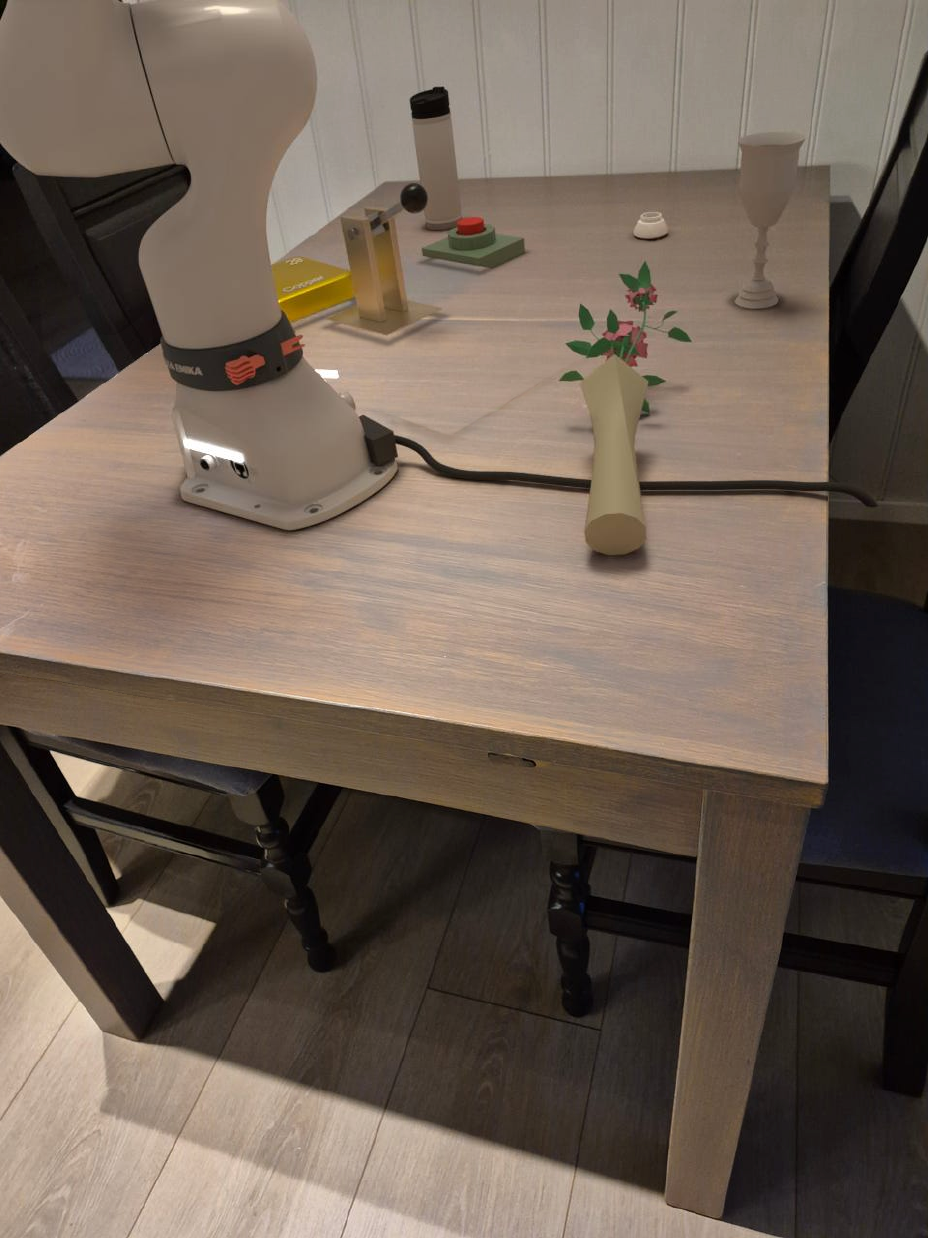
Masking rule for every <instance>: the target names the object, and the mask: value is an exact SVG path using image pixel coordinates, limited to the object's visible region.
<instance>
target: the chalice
mask: <svg viewBox="0 0 928 1238" xmlns="http://www.w3.org/2000/svg"><path fill="white" fill-rule="evenodd" d="M806 139H807V136H806V135H804V134H803V133H800V132H793V131H765V132H757V133H751V134H747V135H744V136H742V137H739V138H738V139H737V143H738V146H739V149H740V151H741V159H740V171H739V172H740V173H739V185H738V189H739V193H740V196H741V197H740V198H741V200H742V205H743V207H744V210H745V212H746V215H747V218H748V220H749V223H750V225H751V226H753V227H755V228H757V231H758V236H757V239H756V242H755V243H754V247H755V249H756V254H755V257H754V258H753V259H752V260H751V262H752V263H753V264H754V269H755V271H754V274H753V276H751V279H748V280H746V281H745V283H743V285H742V286H741V289H740V290H739V292H738V295H737V297H736V298H735V300H734V303H735V305H737V306H739V307H740V308H743V309H744V308H745V309H754V310H756V309H757V310H758V309H759V310H761V309H766V308H771V307H773V306H775V305H777V304H778V303H779V299H778V297H777V291H776V290H775V288H774V287H775V286H774V283H773V282H772V281H771V280H770V279H768V278H767V277H766V276H765V274H764V269H765V266H766V264H767V263H768V261H769V260H768V258H767V257H766V251H767V248H768V247H769V246H770V243H769V242H768V236H767V234H768V230H769V228H771V227H773V226H775V225H776V224H778V221H779V220H780V218H781V216H782V214H783V213H784V211H785V209H786V207H787V206H788V204H789V202H790V200H791V197H792V195H793V193H794V191H795V188H796V186H797V185H796V184H797V176H798V167H799V159H800V158H799V157H800V150H801V147H802V146H803V144H804V143H805V140H806Z"/></svg>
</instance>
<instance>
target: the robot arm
mask: <svg viewBox="0 0 928 1238" xmlns="http://www.w3.org/2000/svg"><path fill="white" fill-rule="evenodd" d="M317 72H318V70H317V62H316V58H315V54H314V51H313V47H312V45H311V42H310V39H309V37H308V35H307V33H306V31H305V29H304V27H303V26H302V24H301V23H300V21H299V20H298V19H297V16H296V15H294V13H293V11H291V10H290V9H289V8H288V7H287V6H286V5H285V3H283V2H282V1H281V0H148V1H142V2H141V1H140V2H135V3H130V2H123V1H120V0H7V2H6V6H5V8H4V10H3V13H2V15H1V18H0V145H1V146H2V147H3V148H4V149H5V151H6V152H7V153H8V154H9V155H10V156H11V157H12V158H13V159H14V160H16V162H17V163H18V164H20V166H21V165H22V166H23V167H24V168H25V169H27V170H28V171H30V172H31V173H33V174H34V175H36V176H45V177H46V176H47V177H62V178H63V177H64V178H101V177H107V176H113V175H117V174H124V173H129V172H135V171H142V170H146V169H147V170H148V169H152V168H157V167H163V166H169V165H183V166H185V167H186V168H187V169H188V171H189V175H190V184H189V187H188V190H187V191H186V193H185V194H184V195H183V196H182V198H181V199H179V201H177V202H176V203H174V205H173V206H172V207H170V208H168V210H166V211H165V212H164V213H163V214H162V215H160V217H158V218H157V219H156V220H155V221H154V222H153V223H152V224H151V225H150V226H149V228H148V229H147V230H146V232H145V233H144V235H143V237H142V238H141V241H140V245H139V248H138V266H139V269H140V272H141V275H142V279H143V281H144V284H145V288H146V290H147V292H148V296H149V299H150V301H151V305H152V307H153V311H154V313H155V316H156V320H157V323H158V326H159V328H160V331H161V332H160V333H161V337H160V340H159V341H160V346H161V350H162V357H163V360H164V364H165V365H166V366H167V369H168V371H169V375H170V377H171V379H172V380H173V381H174V382H175V383H176V388H175V389H176V390H175V391H176V394H175V399H174V404H173V407H172V412H171V419H172V420H171V421H172V423H173V427H174V431H175V435H176V440H177V442H178V446H179V451H180V455H181V458H182V462H183V465H184V468H185V472H186V476H187V477H186V478H185V480H184V481H183V482H182V484H181V486H180V488H179V490H180V495H181V499H182V500H183V501H184V502H187V503H190V504H194V505H197V506H200V507H204V508H209V509H212V510H214V511H218V512H222V513H225V514H228V515H233V516H235V517H239V518H243V519H246V520H250V521H252V522H253V521H254V522H256V523H259V524H263V525H267V526H269V527H270V526H271V527H274V528H278V529H281V530H286V531H296V530H300V529H304V528H308V527H311V526H314V525H317V524H319V523H323V522H325V521H327V520H330V519H332V518H335V517H337V516H339V515H341V514H343V513H344V512H346V511H348V510H350V509H352V508H354V507H355V506H357V505H359V504H360V503H362V502H364V501H365V500H367V499H368V498H370V497H372V496H373V495H374V494H375V493H377V492H378V491H380V490H381V489H382V488H383V487H385V486H386V485H387V484H388V483H389V482H390V481H391V480H392V478H393V477H394V476H395V474H396V473H397V471H398V469H399V465H398V463H397V458H398V457H399V454H398V449H397V445H399V446H402V447H405V448H407V449H410V450H411V451H414V452H415V453H417V454H418V456H420V457H421V458H422V459H423V461H424V462H425V463H426V464H427V465H428V466H429V467H430V468H431V469H432V470H434V471H436V472H438V473H441V474H443V475H446V476H450V477H454V478H457V479H463V480H475V481H476V480H477V481H513V482H524V483H533V484H540V485H541V484H542V485H550V486H558V487H559V486H561V487H569V488H581V489H590V488H591V481H592V479H587V478H577V477H576V478H575V477H563V476H554V475H545V474H536V473H528V472H517V471H500V470H499V471H494V470H493V471H489V470H488V471H487V470H486V471H484V470H481V471H480V470H479V471H478V470H466V469H459V468H456V467H452V466H448V465H446V464H442V463H441V462H439V461H438V460H437V459H435V457H433V455H431V453H430V452H429V451H428V450H427V449H426V448H425V447H424V446H423V445H422V444H420V443H419V442H416V441H414V440H413V439H410V438H407V437H404V436H401V435H397V434H395V433H394V432H395V431H394V430H392V429H390V428H388V427H387V426H385V425H383V424H381V423H379V422H377V421H376V420H374V419H373V418H371V417H369V416H367V415H365V414H361V415H358V413H357V411H356V409H357V408H356V403H355V400H354V398H353V396H352V395H351V393H350V392H349V391H347V390H346V391H345V390H344V391H341V392H339V393H338V392H337V391H336V390H335V388H333V386H332V385H331V384H329V382H328V381H327V380H326V379H338V378H339V374H338V373H339V372H338V370H333V369H332V370H329V369H315V368H314V367H313V366H312V365H311V364H310V363H309V362H308V360H307V359H305V357H304V349H303V348H304V347H306V344H305V343H302V344H301V342H300V341H301V340H302V339H303V338H304V335H302V334H299V335H297V332H296V330H295V328H294V326H293V324H291V323H290V322H289V320H288V318H287V316H286V314H285V312H284V311H282V310H281V309H280V305H279V300H278V296H277V292H276V287H275V283H274V278H273V273H272V267H271V265H272V263H271V257H270V250H269V243H268V234H267V233H268V232H267V211H268V203H269V197H270V192H271V188H272V186H273V182H274V178H275V175H276V173H277V170H278V168H279V167H280V164H281V162H282V160H283V158H284V156H285V154H286V153H287V151H288V149H290V146H292V143H293V142H294V141H295V140H296V139H297V138H298V136H299V135H300V134H301V133H302V131H303V130H304V128H305V127H306V125H307V124H308V121H309V120H310V118H311V116H312V113H313V111H314V106H315V103H316V99H317V91H318V73H317ZM639 485H640V491H740V490H743V491H744V490H775V491H776V490H778V491H794V492H835V493H842V494H846V495H849V496H852V497H853V498H856V499H857V500H858V501H860V502H861V503H862V504H863V505H864V506H865V507H868V508H878V506H879V504H878V503H877V501H875V499H874V498H873V497H872V496H871V495H870V494H869V493H867V492H866V491H865V490H863V489H861V488H860V487H858V486H856V485H853V484H850V483H846V482H839V481H795V480H780V479H779V480H778V479H776V480H775V479H767V480H766V479H746V480H670V481H669V480H656V481H655V480H653V481H651V480H650V481H647V480H645V481H640V480H639Z"/></svg>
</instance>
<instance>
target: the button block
mask: <svg viewBox="0 0 928 1238" xmlns="http://www.w3.org/2000/svg"><path fill="white" fill-rule="evenodd" d="M484 229H485V231H484V232H482V233H479V234H475V235H465V236H464V235H458V228H457V227H456V228H452V229H449V231H448V233H447V237H444V238H442V239H440V240H437V241H435V242H433V243H430V244H427V245H426V246H423V247H421V253H422V254H421V255H422V256H423V257H428V258H434V259H438V260H444V261H449V262H455V263H460V264H466V265H471V266H476V267H482V268H488V269H493V268H496V267H498V266H499V265H502V264H504V263H506V262H508V261H510V260H512V259H515V258H517V257H519V256H521V255H523V254H525V253H526V247H525V237H520V236H513V235H507V234H500V233H496V227H494V226H493V225H492V224H489V223H484Z"/></svg>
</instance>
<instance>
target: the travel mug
mask: <svg viewBox="0 0 928 1238" xmlns="http://www.w3.org/2000/svg"><path fill="white" fill-rule="evenodd" d="M409 105H410V107H409V108H410V111H411V121H412V131H413V139H414V147H415V154H416V160H417V161H416V162H417V170H418V176H419V184H420V185H421V186H423V187H424V189H425V190H426V192H427V195H428V202H427V205H426V207H425V208H424V210H423V213H424V221H425V227H426V229H428V230H429V231H437V232H438V231H447V230H451V229H454V228H456V227H457V222H458V221H459V220H461V219H463V214H462V204H461V194H460V185H459V176H458V168H457V159H456V158H457V157H456V148H455V147H456V146H455V140H454V139H455V138H454V131H453V122H452V117H451V116H452V113H451V107H450V98H449V91H448V89H447V88H445V86H433V87H432V89H427V90H424V91H423V90H422V91H420V92H417V93H415V94H413V95H412V96H411V97H410V98H409Z"/></svg>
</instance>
